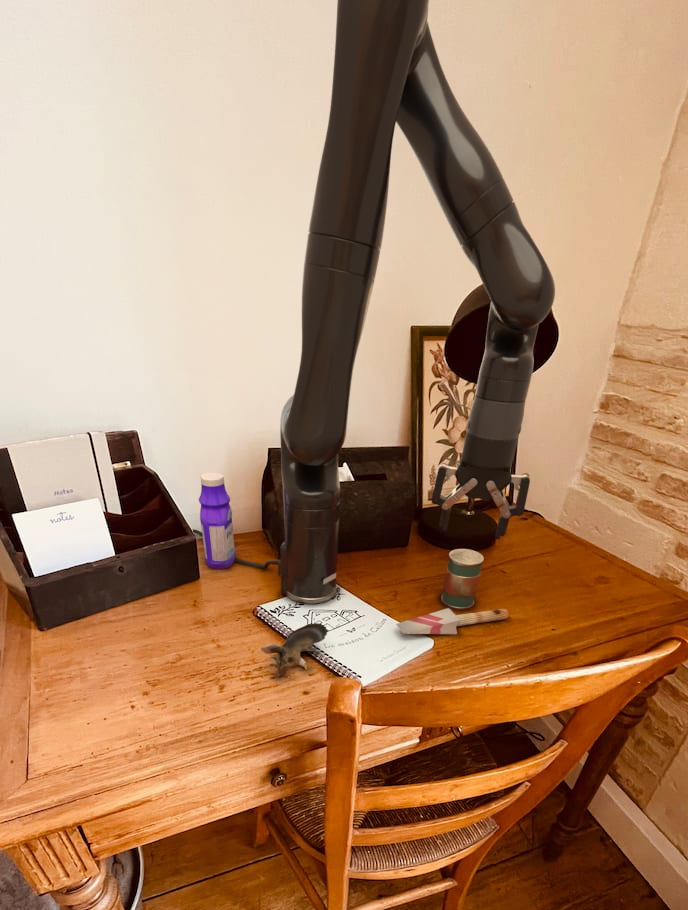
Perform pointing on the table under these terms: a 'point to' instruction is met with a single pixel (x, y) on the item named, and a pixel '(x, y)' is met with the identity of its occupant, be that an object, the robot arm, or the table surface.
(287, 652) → the bushy tailed squirrel toy
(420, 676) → the table surface
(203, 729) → the table surface
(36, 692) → the table surface
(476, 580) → the tin can
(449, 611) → the paintbrush
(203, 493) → the bottle
